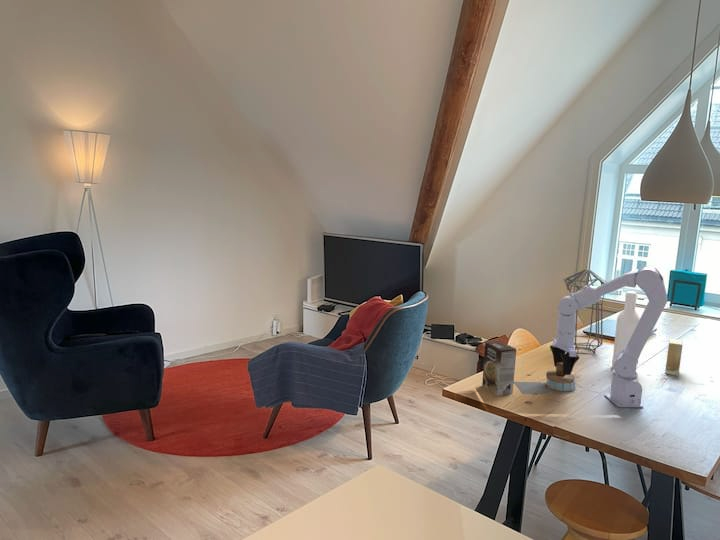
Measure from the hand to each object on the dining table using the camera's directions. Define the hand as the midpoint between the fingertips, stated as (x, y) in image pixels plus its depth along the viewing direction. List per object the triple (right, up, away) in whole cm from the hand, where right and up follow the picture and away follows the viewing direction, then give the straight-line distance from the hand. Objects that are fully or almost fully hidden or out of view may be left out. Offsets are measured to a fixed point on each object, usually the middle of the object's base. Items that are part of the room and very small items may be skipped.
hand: (562, 370), depth 176 cm
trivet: (-11, -6, -1) cm, 12 cm away
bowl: (0, -6, +1) cm, 6 cm away
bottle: (+32, -4, +21) cm, 38 cm away
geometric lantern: (+24, 0, +42) cm, 49 cm away
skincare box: (+49, -5, +19) cm, 52 cm away
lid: (-1, -3, 0) cm, 3 cm away
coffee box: (-23, -7, -3) cm, 24 cm away
